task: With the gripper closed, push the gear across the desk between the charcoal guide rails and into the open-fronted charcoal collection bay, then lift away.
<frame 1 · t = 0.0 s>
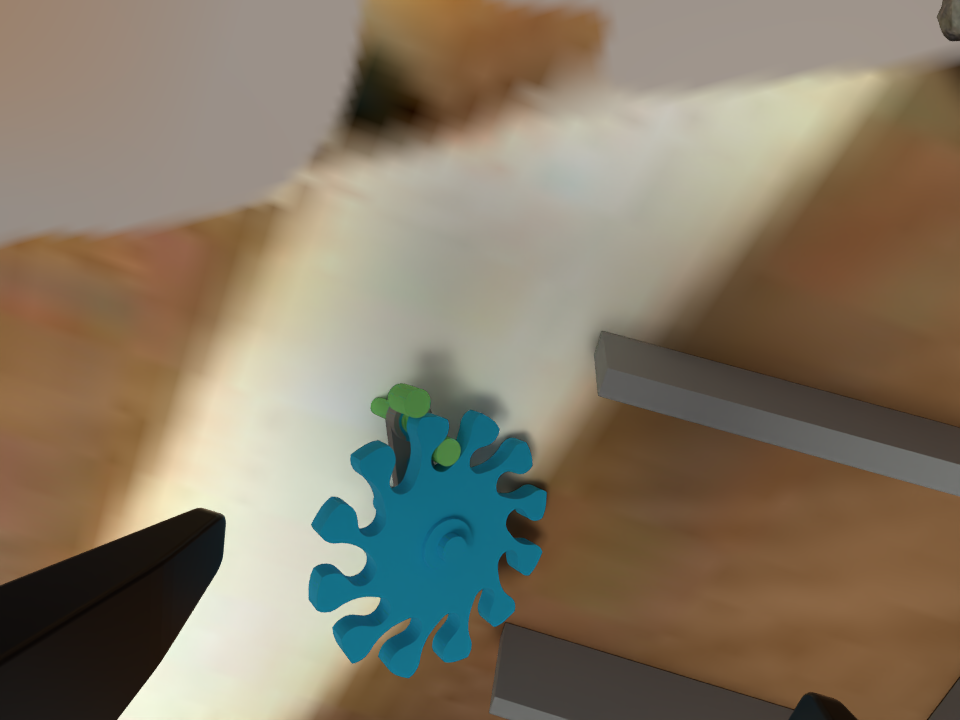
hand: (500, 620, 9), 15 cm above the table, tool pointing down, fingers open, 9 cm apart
gear: (456, 472, 25), on the table
collection bay: (776, 569, 24), on the table
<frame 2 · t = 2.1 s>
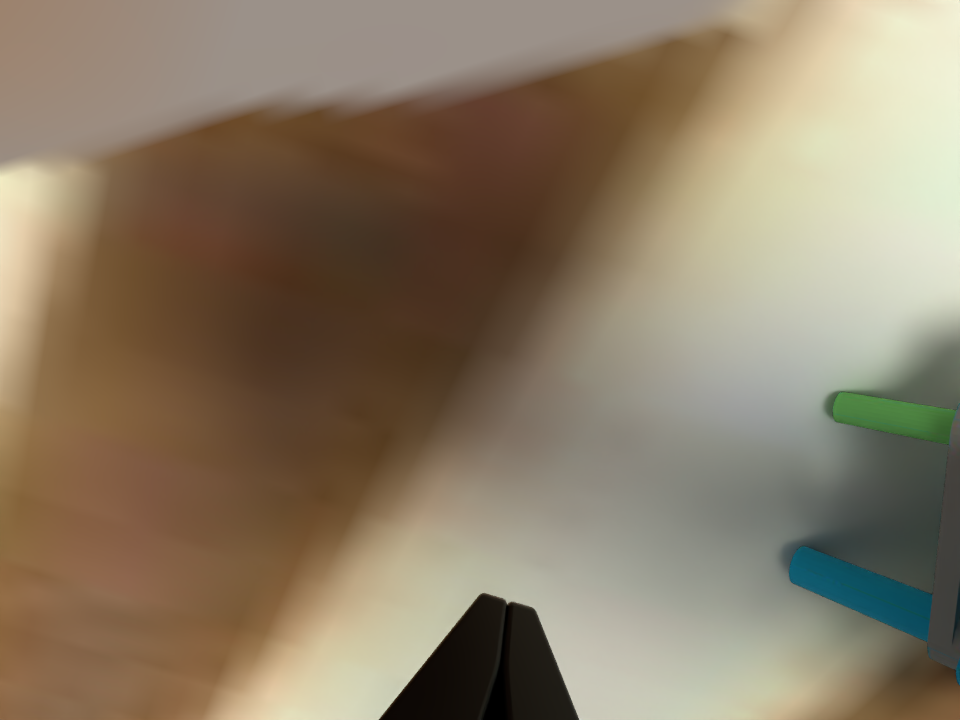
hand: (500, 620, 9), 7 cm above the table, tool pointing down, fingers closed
gear: (935, 522, 15), on the table
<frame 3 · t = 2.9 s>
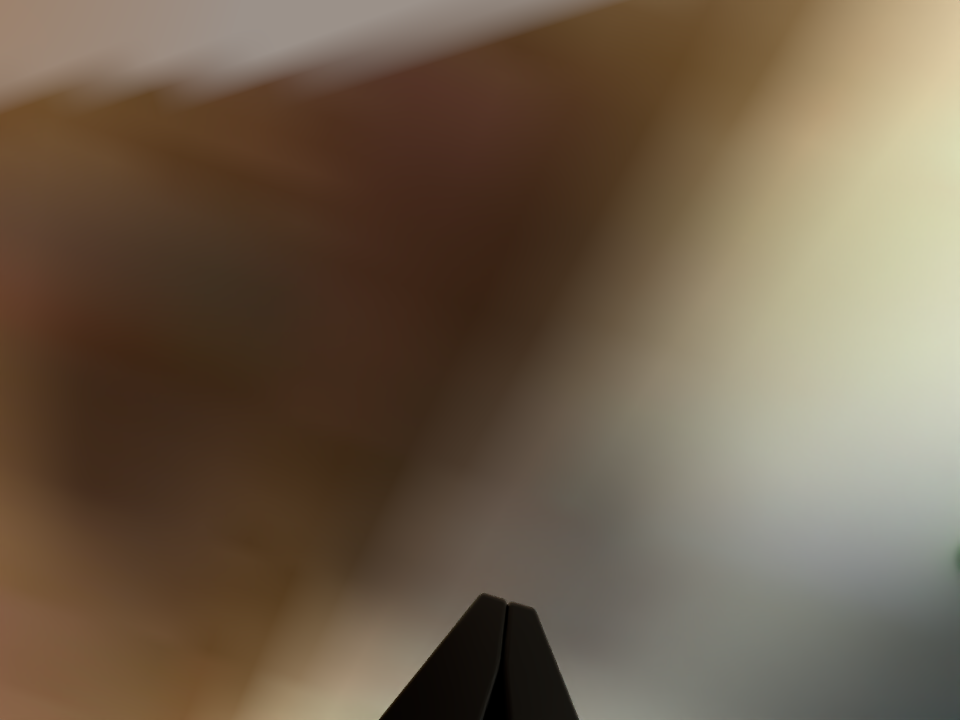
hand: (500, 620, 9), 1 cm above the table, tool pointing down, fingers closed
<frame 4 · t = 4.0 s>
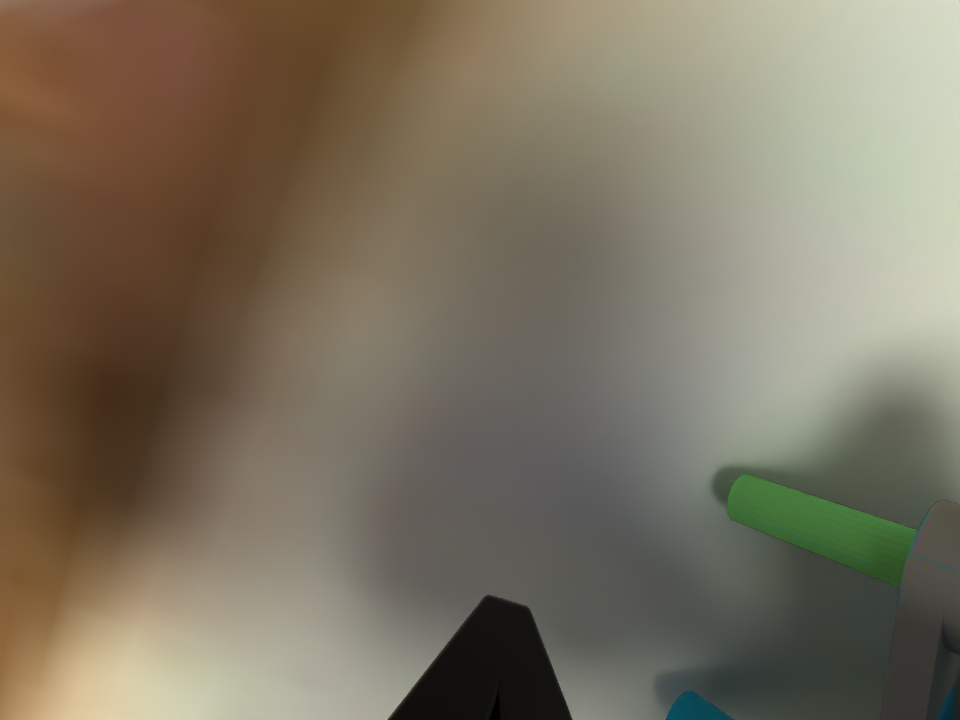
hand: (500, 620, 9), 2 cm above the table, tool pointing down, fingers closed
gear: (882, 668, 10), on the table, touching gripper
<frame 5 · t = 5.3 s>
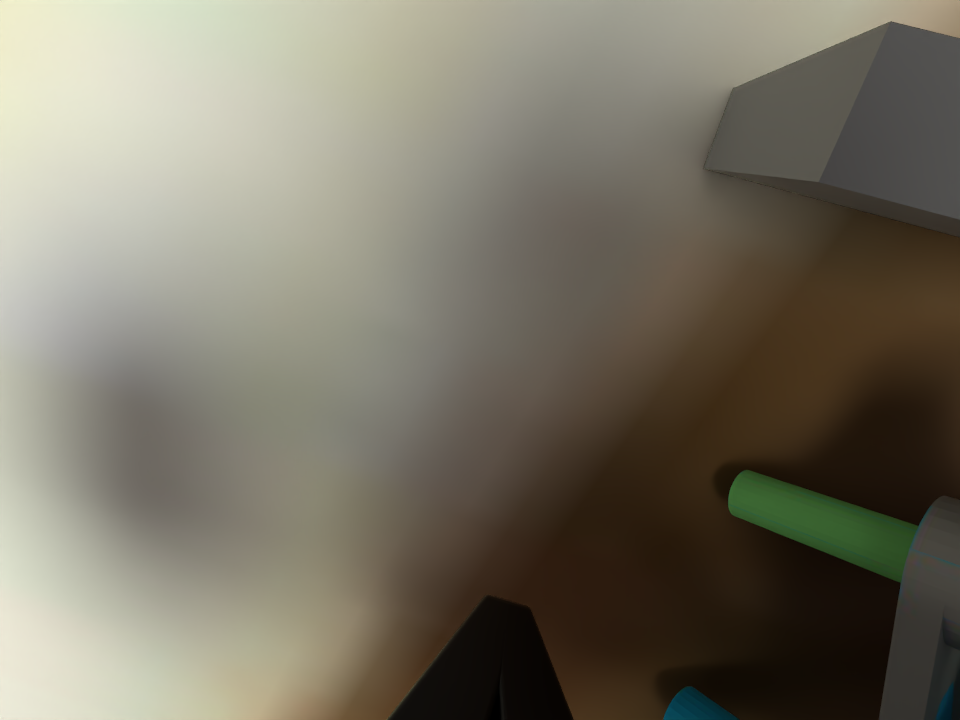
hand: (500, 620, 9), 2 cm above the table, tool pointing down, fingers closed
gear: (881, 664, 10), on the table, touching gripper
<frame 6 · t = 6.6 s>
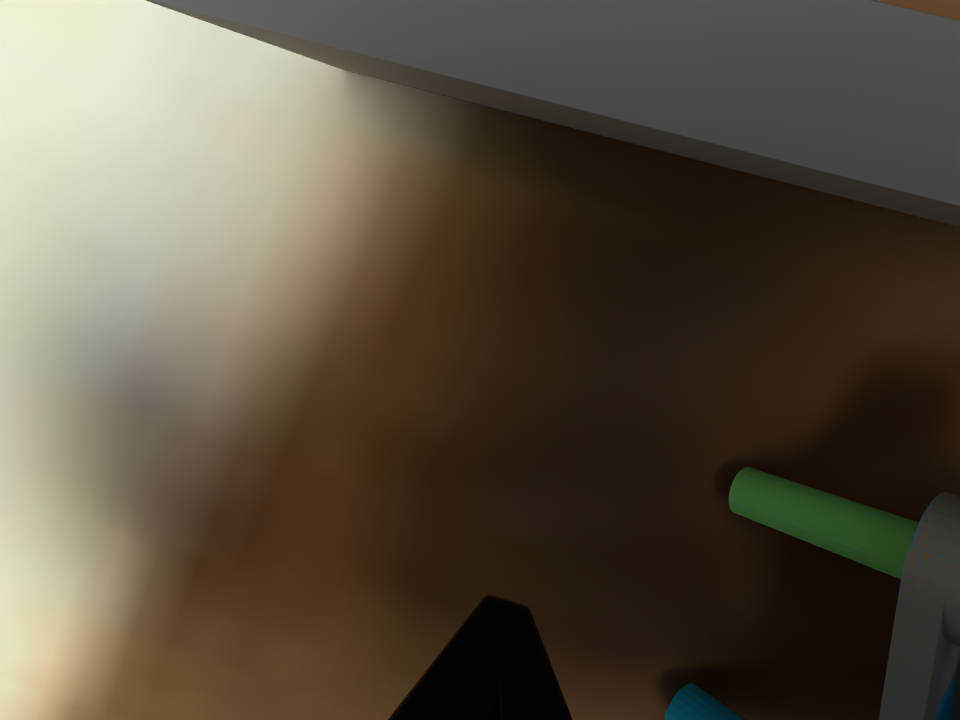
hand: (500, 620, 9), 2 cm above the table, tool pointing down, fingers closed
gear: (883, 661, 10), on the table, touching gripper
collection bay: (835, 656, 10), on the table
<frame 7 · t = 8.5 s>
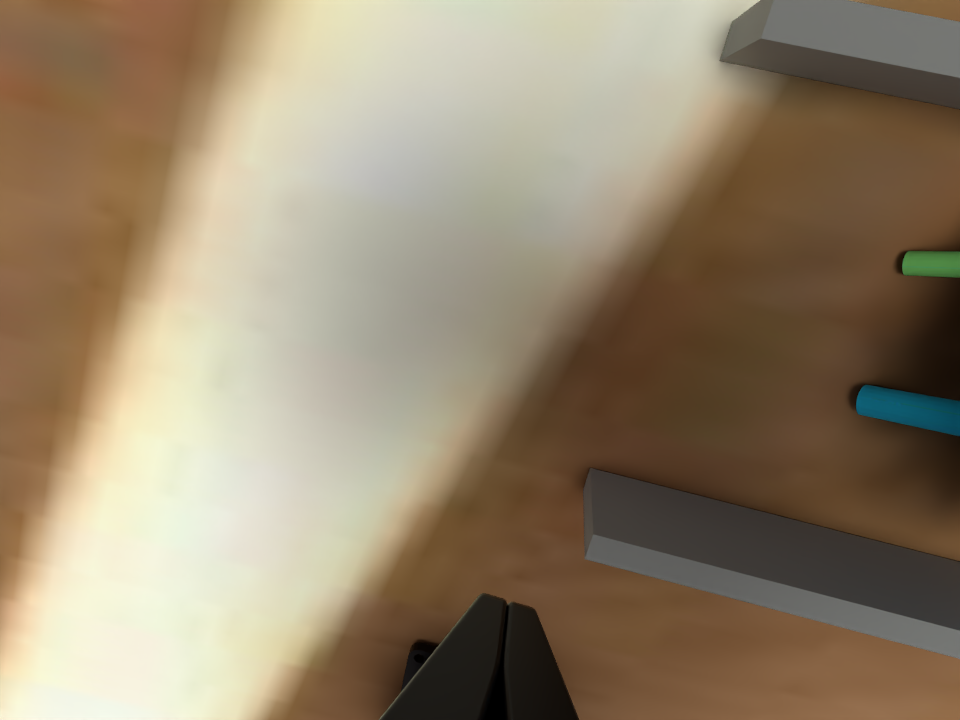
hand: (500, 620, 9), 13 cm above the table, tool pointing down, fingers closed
collection bay: (954, 363, 19), on the table
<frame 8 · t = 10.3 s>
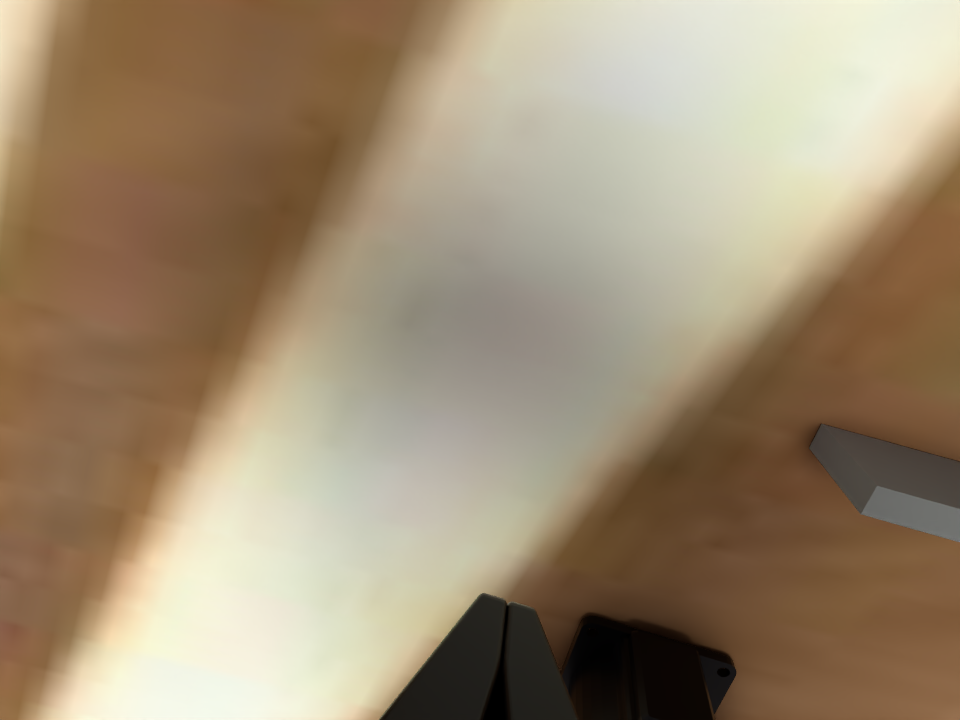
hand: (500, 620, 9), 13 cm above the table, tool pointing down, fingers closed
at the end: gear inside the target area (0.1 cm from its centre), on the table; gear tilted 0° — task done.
